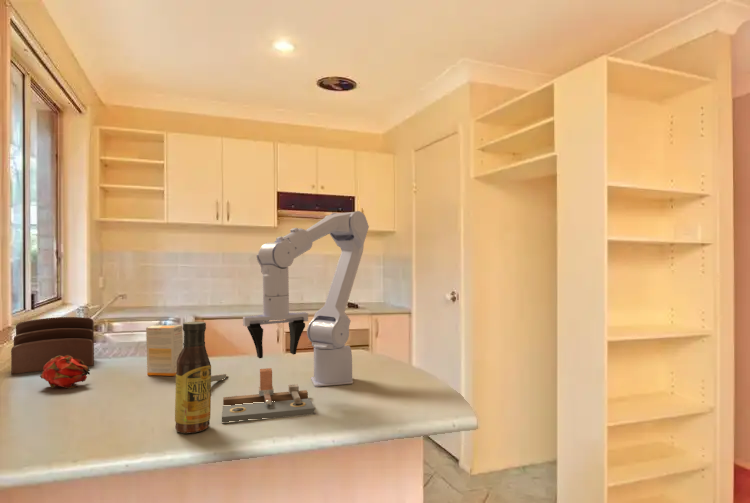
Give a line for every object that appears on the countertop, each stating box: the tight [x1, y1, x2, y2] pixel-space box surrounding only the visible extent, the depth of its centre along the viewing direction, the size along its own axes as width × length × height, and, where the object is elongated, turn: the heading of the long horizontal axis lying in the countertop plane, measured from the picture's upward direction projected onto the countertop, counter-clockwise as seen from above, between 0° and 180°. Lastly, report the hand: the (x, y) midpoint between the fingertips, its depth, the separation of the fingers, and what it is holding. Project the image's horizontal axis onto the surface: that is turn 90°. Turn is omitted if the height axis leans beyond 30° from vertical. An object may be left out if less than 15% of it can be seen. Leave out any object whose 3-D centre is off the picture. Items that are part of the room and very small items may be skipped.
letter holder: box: [10, 316, 95, 375], centre depth 145 cm, size 10×20×14 cm, turn 119°
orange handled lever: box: [258, 367, 275, 406], centre depth 106 cm, size 3×10×6 cm, turn 15°
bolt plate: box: [221, 397, 316, 423], centre depth 101 cm, size 18×7×1 cm, turn 106°
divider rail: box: [222, 383, 309, 405], centre depth 105 cm, size 18×10×3 cm, turn 106°
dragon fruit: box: [39, 355, 91, 389], centre depth 123 cm, size 8×8×12 cm
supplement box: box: [145, 324, 184, 377], centre depth 135 cm, size 8×5×13 cm, turn 80°
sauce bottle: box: [174, 321, 212, 434], centre depth 93 cm, size 7×6×20 cm
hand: (276, 355), depth 112 cm, fingers open, 7 cm apart
